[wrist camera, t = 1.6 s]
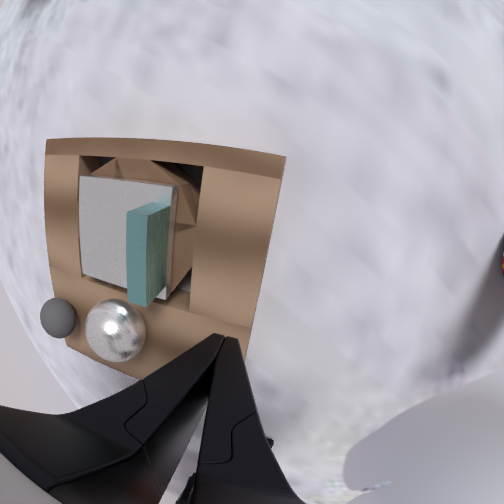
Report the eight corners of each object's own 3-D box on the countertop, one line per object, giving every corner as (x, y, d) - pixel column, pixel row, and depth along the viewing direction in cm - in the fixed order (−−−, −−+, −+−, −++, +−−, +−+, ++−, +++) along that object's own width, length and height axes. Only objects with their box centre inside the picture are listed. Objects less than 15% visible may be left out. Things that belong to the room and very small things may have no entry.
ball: (157, 345, 19) (131, 383, 15) (109, 328, 20) (79, 360, 16) (155, 296, 18) (122, 333, 14) (104, 280, 18) (67, 309, 14)
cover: (170, 294, 17) (147, 322, 14) (89, 269, 18) (60, 288, 15) (178, 185, 15) (148, 194, 11) (87, 174, 15) (51, 181, 12)
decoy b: (86, 330, 21) (64, 352, 17) (60, 317, 21) (38, 336, 18) (80, 297, 19) (54, 318, 16) (54, 286, 20) (29, 304, 16)
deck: (238, 388, 23) (233, 408, 21) (79, 333, 24) (66, 345, 22) (286, 156, 16) (285, 156, 14) (67, 138, 17) (46, 139, 15)
